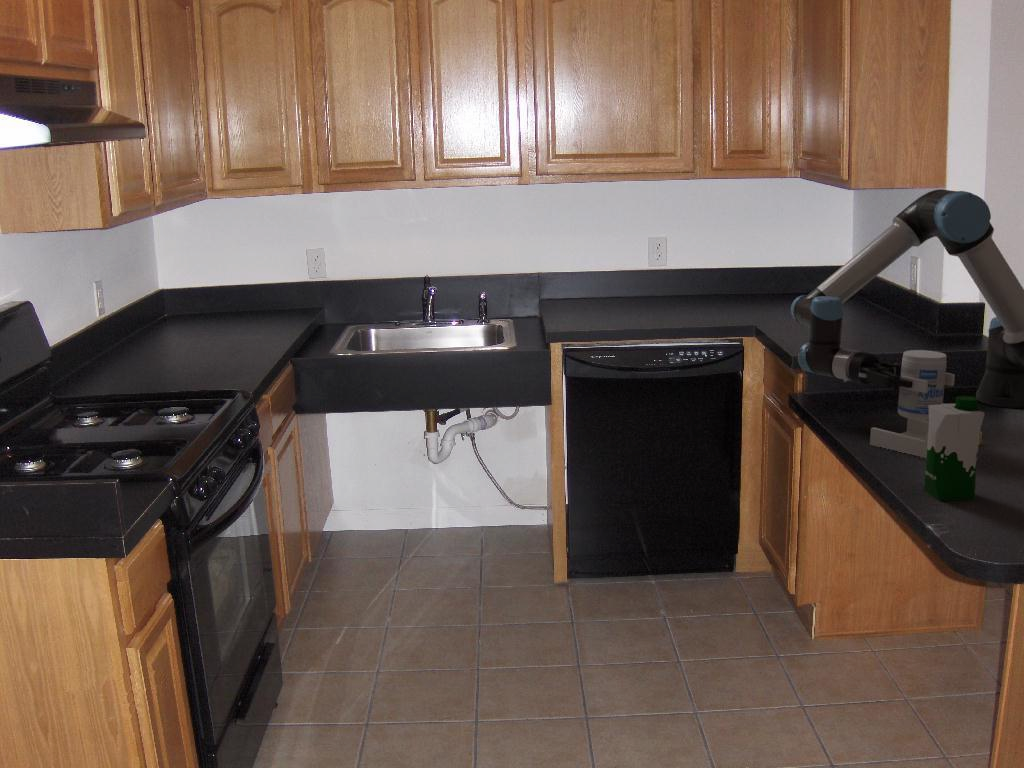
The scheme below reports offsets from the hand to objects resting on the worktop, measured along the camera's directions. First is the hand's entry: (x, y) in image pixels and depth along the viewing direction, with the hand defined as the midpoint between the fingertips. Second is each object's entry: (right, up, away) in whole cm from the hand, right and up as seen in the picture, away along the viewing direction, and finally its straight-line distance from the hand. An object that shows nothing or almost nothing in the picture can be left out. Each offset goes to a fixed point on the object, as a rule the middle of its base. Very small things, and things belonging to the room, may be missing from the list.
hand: (940, 383), depth 234 cm
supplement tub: (-3, -8, +6) cm, 10 cm away
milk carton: (-9, -23, -25) cm, 35 cm away
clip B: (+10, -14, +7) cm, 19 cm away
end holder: (-2, -14, +7) cm, 16 cm away
